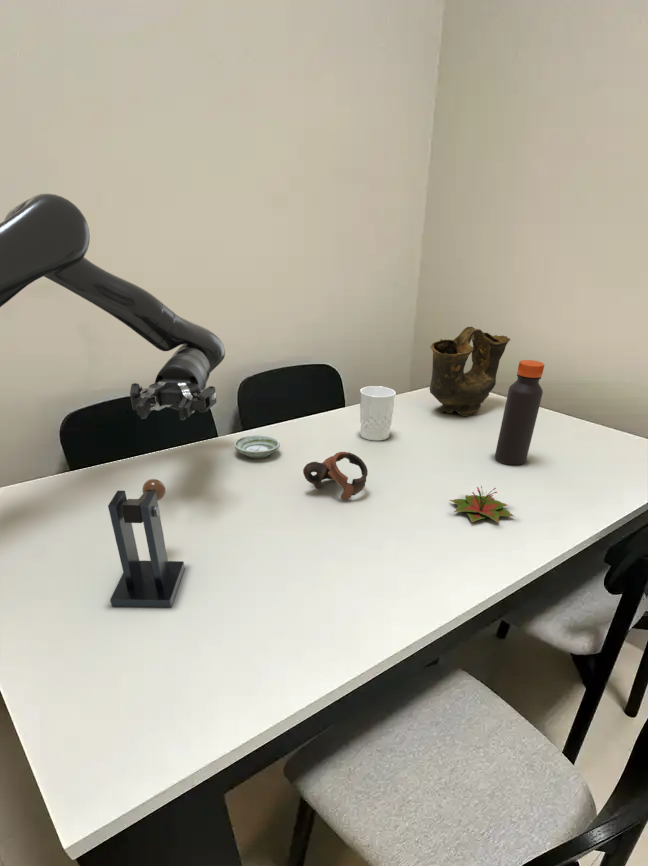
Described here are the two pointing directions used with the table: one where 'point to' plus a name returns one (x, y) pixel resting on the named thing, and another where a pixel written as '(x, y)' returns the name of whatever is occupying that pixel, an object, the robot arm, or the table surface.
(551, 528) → the table surface
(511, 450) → the bottle
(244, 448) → the saucer
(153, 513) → the bracket
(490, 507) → the lily flower
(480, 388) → the pottery vessel
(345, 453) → the brown curved ring piece
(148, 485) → the lever
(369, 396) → the white cup
